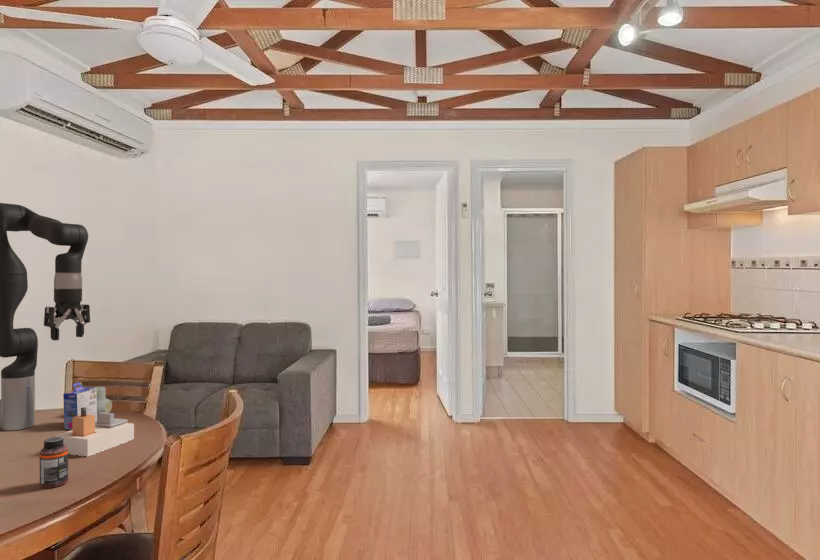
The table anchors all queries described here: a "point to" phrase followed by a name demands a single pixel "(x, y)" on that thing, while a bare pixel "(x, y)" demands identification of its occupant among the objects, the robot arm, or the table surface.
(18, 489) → the table surface
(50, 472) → the supplement bottle
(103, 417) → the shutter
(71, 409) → the ink cartridge box
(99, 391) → the air freshener
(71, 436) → the socket
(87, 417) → the plug
